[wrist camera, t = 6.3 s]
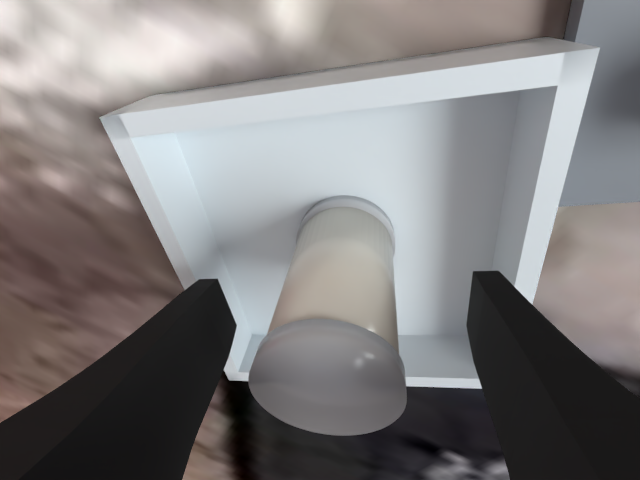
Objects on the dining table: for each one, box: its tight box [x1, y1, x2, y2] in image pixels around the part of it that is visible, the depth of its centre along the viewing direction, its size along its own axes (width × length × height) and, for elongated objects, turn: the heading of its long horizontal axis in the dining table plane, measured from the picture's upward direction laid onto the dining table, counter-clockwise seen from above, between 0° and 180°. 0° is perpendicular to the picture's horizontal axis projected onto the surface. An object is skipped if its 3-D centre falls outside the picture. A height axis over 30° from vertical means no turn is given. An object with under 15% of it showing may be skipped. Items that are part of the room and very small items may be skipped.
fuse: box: [248, 195, 407, 436], centre depth 10 cm, size 3×3×6 cm
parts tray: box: [99, 37, 600, 389], centre depth 12 cm, size 11×11×2 cm
